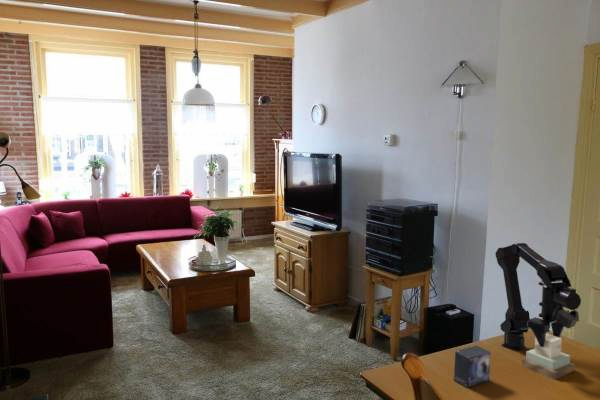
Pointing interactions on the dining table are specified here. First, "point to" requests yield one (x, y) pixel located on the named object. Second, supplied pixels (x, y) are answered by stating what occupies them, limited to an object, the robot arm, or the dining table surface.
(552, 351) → the cream cube
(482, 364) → the small box
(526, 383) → the dining table surface
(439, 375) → the dining table surface
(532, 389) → the dining table surface
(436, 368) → the dining table surface
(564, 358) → the sage slab
